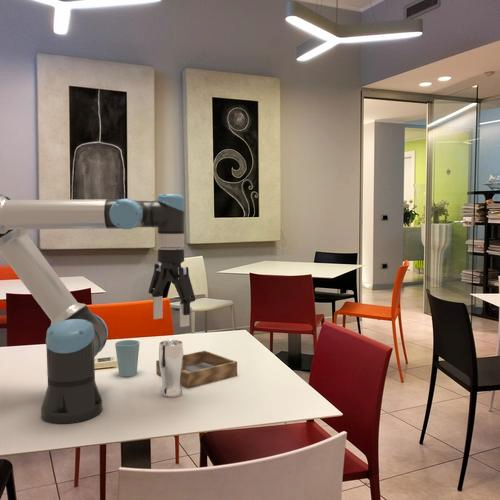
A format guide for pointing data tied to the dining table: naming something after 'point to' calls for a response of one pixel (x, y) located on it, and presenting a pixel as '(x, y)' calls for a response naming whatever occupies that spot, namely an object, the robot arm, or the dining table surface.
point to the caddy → (204, 368)
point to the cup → (127, 357)
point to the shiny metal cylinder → (171, 367)
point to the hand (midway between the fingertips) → (170, 322)
